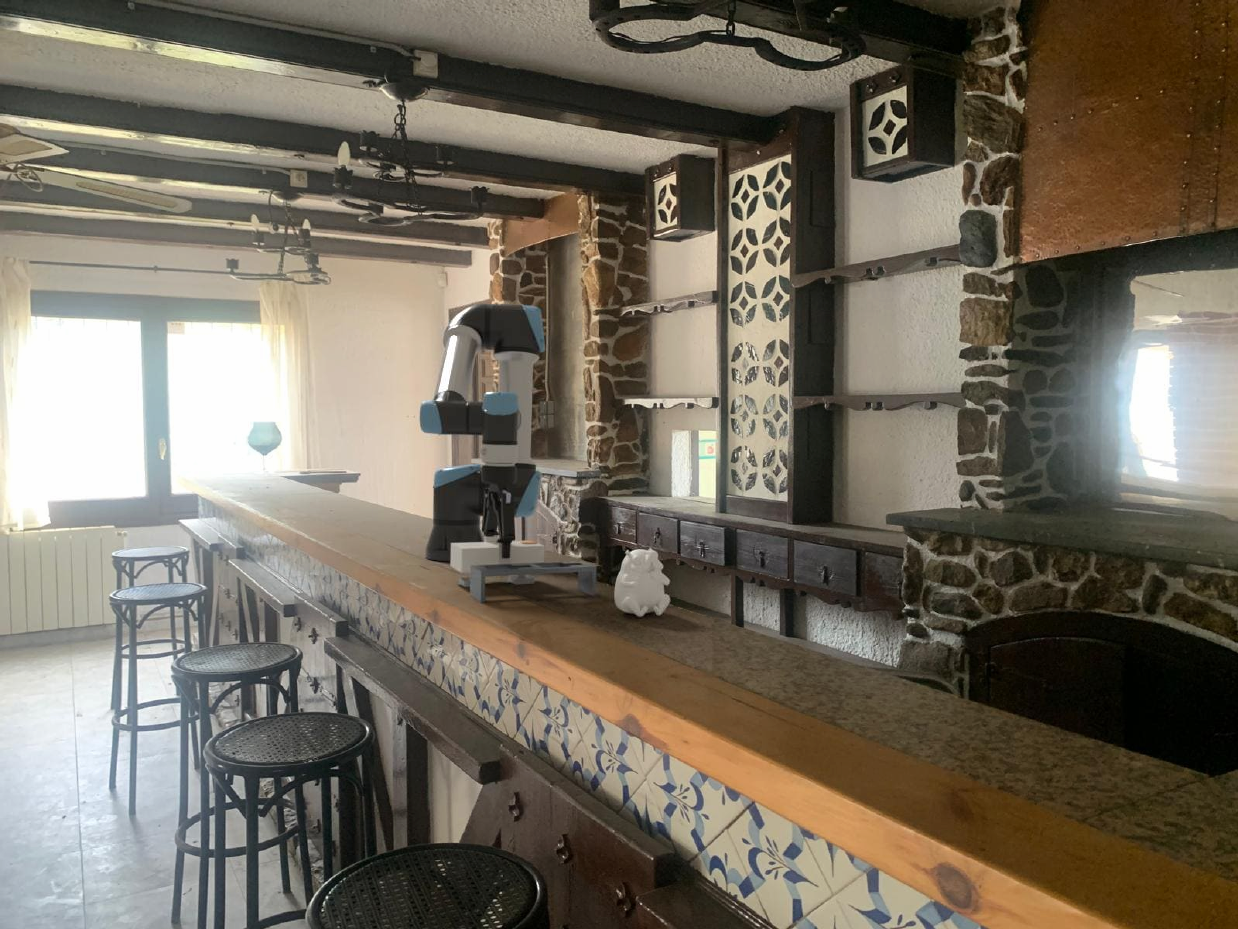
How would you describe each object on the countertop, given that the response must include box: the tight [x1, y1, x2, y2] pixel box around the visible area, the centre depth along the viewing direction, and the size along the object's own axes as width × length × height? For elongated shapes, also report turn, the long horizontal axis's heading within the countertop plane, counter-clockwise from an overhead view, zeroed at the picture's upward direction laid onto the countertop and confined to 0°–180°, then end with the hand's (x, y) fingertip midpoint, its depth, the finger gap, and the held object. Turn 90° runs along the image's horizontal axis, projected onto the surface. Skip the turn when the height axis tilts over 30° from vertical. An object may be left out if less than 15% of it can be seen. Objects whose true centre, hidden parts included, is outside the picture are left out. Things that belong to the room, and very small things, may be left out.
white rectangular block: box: [450, 540, 545, 588], centre depth 198 cm, size 9×18×9 cm, turn 115°
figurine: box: [613, 547, 671, 618], centre depth 171 cm, size 10×10×12 cm
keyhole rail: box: [469, 560, 597, 603], centre depth 186 cm, size 8×24×6 cm, turn 115°
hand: (497, 569), depth 198 cm, fingers closed on white rectangular block, 9 cm apart
